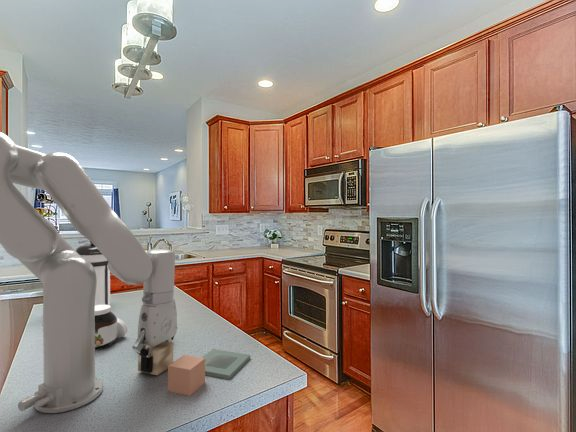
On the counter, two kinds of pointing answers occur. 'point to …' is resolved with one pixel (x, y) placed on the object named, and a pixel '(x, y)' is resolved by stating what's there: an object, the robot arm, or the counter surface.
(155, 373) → the maple block
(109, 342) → the spread jar
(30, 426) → the counter surface
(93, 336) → the robot arm
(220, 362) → the plate
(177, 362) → the terracotta block
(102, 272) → the coffee press
